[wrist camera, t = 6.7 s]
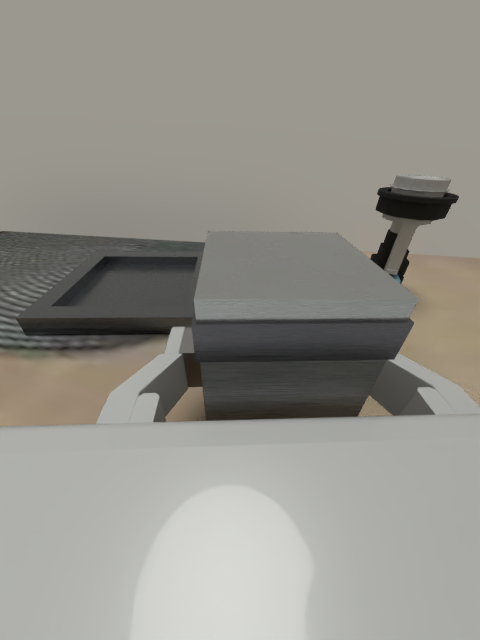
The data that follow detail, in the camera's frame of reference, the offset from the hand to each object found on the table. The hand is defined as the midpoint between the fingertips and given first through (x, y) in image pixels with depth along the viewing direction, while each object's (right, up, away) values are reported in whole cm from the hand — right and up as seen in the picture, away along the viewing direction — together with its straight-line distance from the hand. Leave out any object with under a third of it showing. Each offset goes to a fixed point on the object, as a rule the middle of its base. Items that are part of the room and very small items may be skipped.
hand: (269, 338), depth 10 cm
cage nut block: (0, -5, +2) cm, 5 cm away
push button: (+12, +3, +14) cm, 19 cm away
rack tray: (-11, +3, +13) cm, 17 cm away
